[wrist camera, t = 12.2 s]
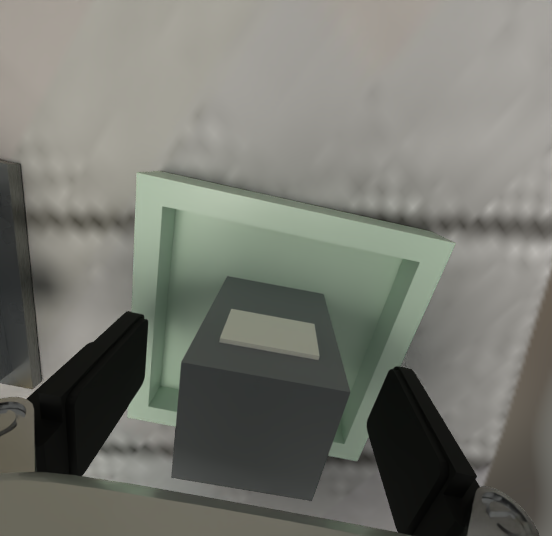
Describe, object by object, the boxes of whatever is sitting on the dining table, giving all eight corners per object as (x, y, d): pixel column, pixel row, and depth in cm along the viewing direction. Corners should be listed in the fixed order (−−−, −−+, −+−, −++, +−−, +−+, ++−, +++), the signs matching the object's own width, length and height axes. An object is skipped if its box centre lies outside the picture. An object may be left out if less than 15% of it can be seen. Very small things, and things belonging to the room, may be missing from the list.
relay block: (302, 371, 15) (311, 501, 9) (216, 356, 15) (171, 477, 9) (324, 291, 13) (352, 388, 7) (227, 273, 13) (181, 357, 7)
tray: (349, 427, 17) (357, 461, 15) (145, 388, 16) (127, 417, 14) (430, 231, 13) (455, 243, 11) (160, 171, 12) (136, 172, 10)
